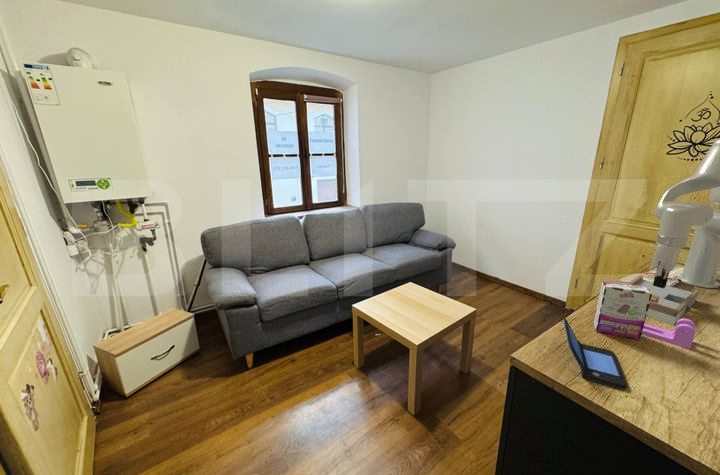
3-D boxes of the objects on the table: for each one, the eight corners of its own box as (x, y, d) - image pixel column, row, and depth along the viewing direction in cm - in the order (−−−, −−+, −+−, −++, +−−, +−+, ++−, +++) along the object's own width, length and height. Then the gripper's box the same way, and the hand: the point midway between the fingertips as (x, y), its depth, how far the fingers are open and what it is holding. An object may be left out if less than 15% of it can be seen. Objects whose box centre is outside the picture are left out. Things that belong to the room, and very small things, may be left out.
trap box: (637, 284, 125) (640, 273, 124) (695, 300, 111) (700, 287, 110) (610, 303, 111) (613, 290, 110) (673, 324, 97) (677, 310, 96)
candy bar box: (634, 332, 94) (647, 286, 90) (640, 341, 90) (654, 293, 85) (591, 324, 99) (601, 280, 95) (595, 331, 95) (605, 286, 90)
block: (639, 297, 109) (641, 290, 108) (657, 303, 105) (660, 295, 104) (634, 301, 106) (636, 294, 106) (653, 307, 102) (655, 299, 101)
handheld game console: (627, 392, 72) (636, 361, 70) (563, 374, 79) (569, 345, 76) (612, 354, 85) (620, 327, 83) (558, 341, 92) (563, 315, 89)
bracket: (689, 341, 90) (696, 321, 88) (689, 349, 86) (696, 329, 84) (633, 324, 99) (638, 305, 97) (630, 330, 95) (636, 312, 93)
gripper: (663, 233, 111) (652, 277, 117) (649, 242, 104) (638, 288, 109) (692, 238, 105) (679, 284, 110) (679, 248, 98) (666, 296, 103)
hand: (659, 286), depth 110 cm, fingers closed
